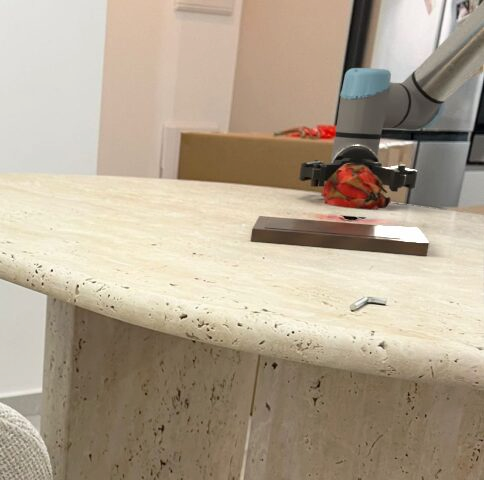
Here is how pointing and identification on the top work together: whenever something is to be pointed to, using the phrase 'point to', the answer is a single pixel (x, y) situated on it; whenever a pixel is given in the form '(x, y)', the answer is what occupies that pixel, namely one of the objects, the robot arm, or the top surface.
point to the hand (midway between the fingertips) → (359, 179)
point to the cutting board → (340, 235)
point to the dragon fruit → (355, 189)
